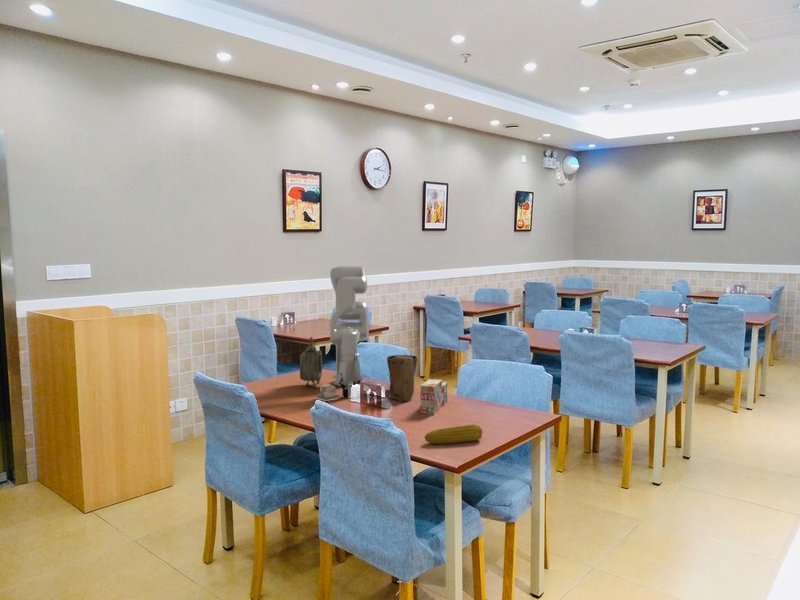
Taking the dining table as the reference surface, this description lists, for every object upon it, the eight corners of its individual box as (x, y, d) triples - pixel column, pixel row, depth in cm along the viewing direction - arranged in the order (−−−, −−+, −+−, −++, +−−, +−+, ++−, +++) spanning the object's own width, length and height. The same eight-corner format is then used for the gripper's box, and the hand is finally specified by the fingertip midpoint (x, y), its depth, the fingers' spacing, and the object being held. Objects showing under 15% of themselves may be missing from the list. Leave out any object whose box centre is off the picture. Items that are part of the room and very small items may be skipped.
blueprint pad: (315, 398, 269) (315, 395, 269) (329, 395, 274) (329, 392, 274) (325, 402, 263) (325, 398, 263) (339, 398, 268) (339, 395, 268)
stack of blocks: (434, 401, 265) (434, 374, 263) (447, 402, 262) (447, 375, 261) (420, 413, 244) (420, 384, 243) (434, 415, 242) (434, 386, 241)
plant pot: (382, 392, 281) (382, 359, 280) (392, 385, 295) (392, 354, 294) (412, 394, 277) (412, 361, 275) (421, 387, 291) (421, 355, 289)
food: (477, 437, 213) (477, 421, 213) (483, 442, 208) (484, 426, 207) (422, 442, 208) (422, 426, 207) (427, 448, 202) (427, 431, 202)
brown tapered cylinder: (415, 399, 267) (415, 356, 266) (405, 402, 261) (405, 358, 260) (397, 395, 274) (397, 353, 272) (387, 399, 268) (386, 356, 266)
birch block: (320, 396, 269) (320, 386, 268) (328, 394, 272) (328, 384, 272) (326, 398, 265) (326, 387, 265) (335, 396, 268) (335, 386, 268)
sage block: (342, 396, 273) (342, 386, 272) (351, 395, 276) (350, 384, 276) (349, 398, 269) (349, 388, 269) (357, 396, 272) (357, 386, 272)
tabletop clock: (318, 389, 286) (317, 339, 284) (299, 389, 286) (298, 339, 284) (322, 383, 301) (321, 335, 299) (304, 383, 301) (303, 335, 299)
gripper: (358, 354, 280) (359, 391, 281) (330, 359, 268) (330, 397, 269) (368, 356, 274) (369, 394, 276) (340, 361, 262) (340, 400, 264)
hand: (350, 395), depth 273 cm, fingers closed on sage block, 5 cm apart
